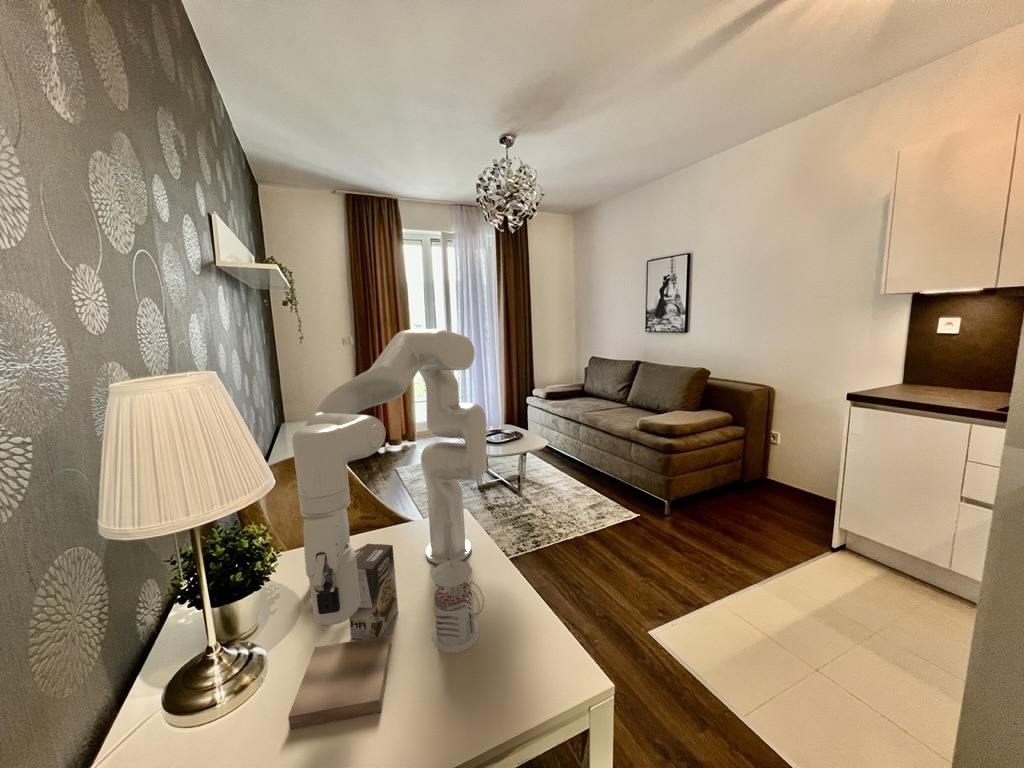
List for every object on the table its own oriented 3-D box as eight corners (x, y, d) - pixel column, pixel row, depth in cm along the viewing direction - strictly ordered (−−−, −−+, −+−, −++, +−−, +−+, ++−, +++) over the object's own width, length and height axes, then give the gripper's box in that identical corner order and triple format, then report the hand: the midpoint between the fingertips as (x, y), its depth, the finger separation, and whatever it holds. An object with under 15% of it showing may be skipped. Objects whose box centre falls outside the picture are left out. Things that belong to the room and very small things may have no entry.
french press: (449, 610, 89) (442, 505, 85) (495, 626, 84) (490, 515, 80) (421, 642, 81) (412, 527, 77) (470, 662, 75) (463, 540, 72)
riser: (316, 658, 78) (315, 647, 77) (391, 646, 80) (390, 635, 80) (290, 730, 64) (288, 716, 64) (381, 712, 66) (379, 699, 66)
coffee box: (378, 642, 81) (371, 569, 78) (349, 638, 82) (342, 566, 80) (399, 610, 90) (393, 544, 87) (373, 607, 91) (367, 541, 89)
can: (323, 600, 73) (315, 539, 71) (365, 595, 74) (359, 535, 72) (307, 631, 66) (298, 564, 64) (354, 626, 66) (347, 559, 65)
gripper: (317, 481, 74) (327, 568, 77) (280, 527, 57) (294, 637, 60) (359, 477, 76) (367, 563, 78) (335, 521, 59) (347, 629, 61)
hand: (336, 594), depth 69 cm, fingers closed on can, 7 cm apart
